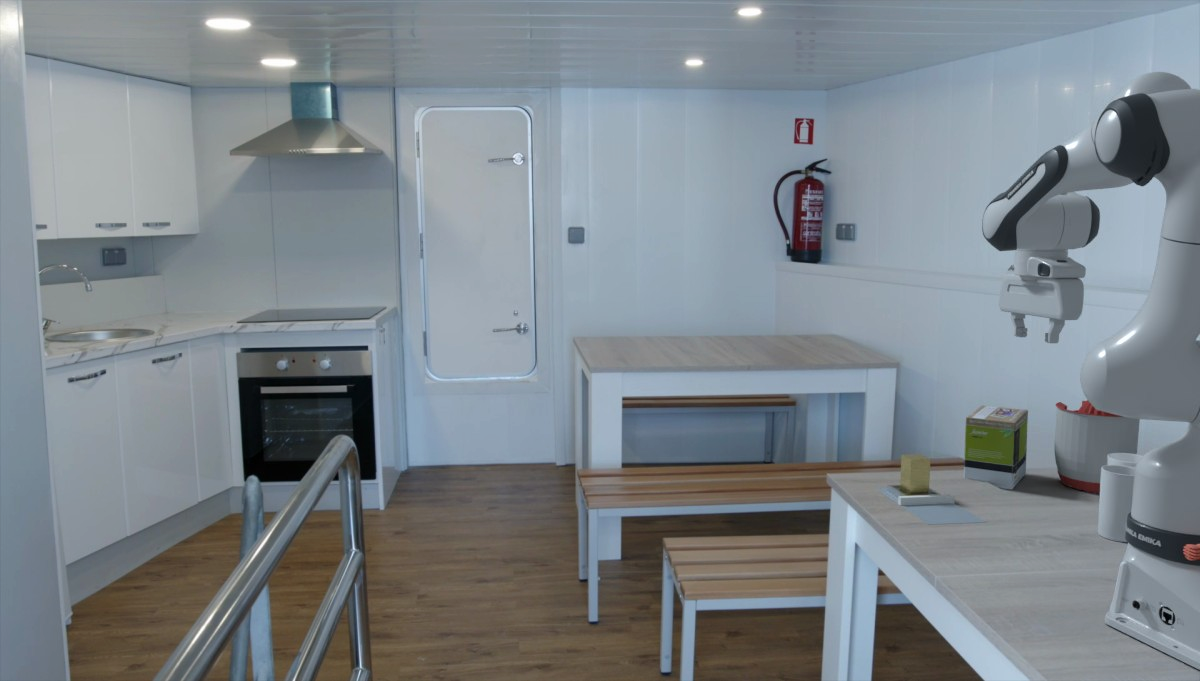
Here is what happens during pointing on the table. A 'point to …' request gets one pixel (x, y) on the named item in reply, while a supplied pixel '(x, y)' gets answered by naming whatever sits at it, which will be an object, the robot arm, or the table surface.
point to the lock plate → (934, 508)
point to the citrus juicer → (1090, 443)
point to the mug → (1115, 501)
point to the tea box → (996, 446)
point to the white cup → (1123, 459)
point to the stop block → (915, 474)
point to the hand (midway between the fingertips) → (1035, 339)
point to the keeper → (896, 492)
